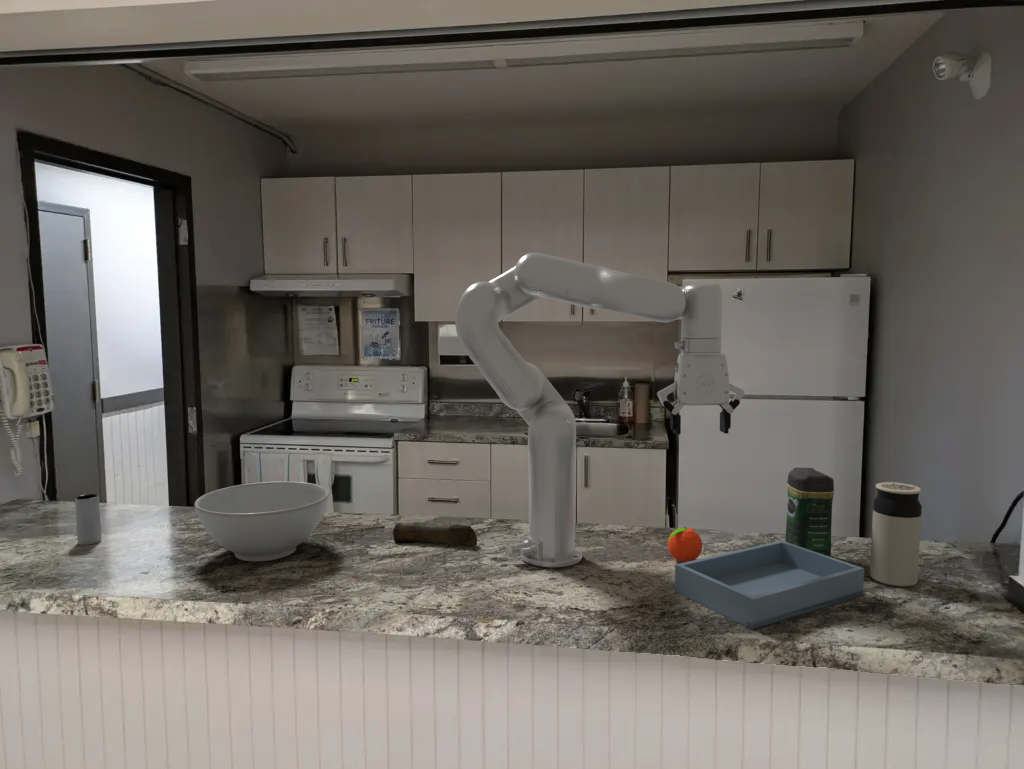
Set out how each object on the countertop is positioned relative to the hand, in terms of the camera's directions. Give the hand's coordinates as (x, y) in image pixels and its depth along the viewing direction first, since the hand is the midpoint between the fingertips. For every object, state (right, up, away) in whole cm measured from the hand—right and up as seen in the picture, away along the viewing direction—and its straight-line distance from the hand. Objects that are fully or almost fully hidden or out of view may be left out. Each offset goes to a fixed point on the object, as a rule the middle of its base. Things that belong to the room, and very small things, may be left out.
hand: (700, 432), depth 141 cm
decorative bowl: (-90, -26, +9) cm, 94 cm away
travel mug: (+35, -28, -7) cm, 45 cm away
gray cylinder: (-132, -26, +16) cm, 135 cm away
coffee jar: (+23, -26, +5) cm, 36 cm away
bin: (+9, -28, -13) cm, 32 cm away
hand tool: (-54, -26, +16) cm, 62 cm away
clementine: (-3, -27, +3) cm, 27 cm away
